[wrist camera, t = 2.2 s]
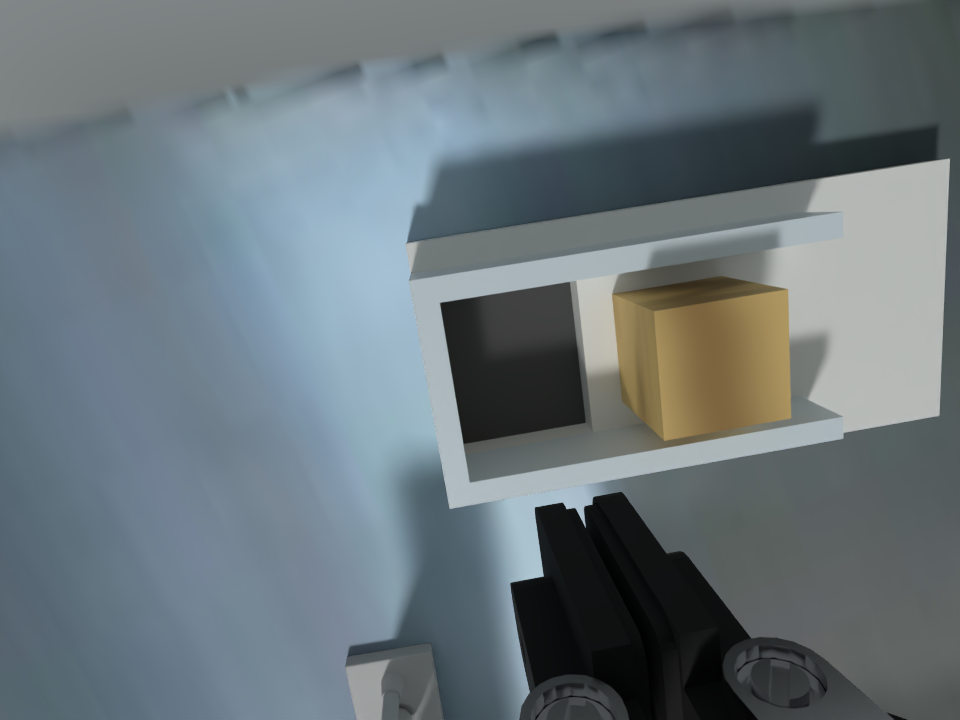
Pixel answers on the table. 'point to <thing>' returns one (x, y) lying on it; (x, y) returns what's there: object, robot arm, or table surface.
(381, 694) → the test tube rack
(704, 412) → the block
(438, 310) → the channel
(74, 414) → the table surface
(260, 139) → the table surface
